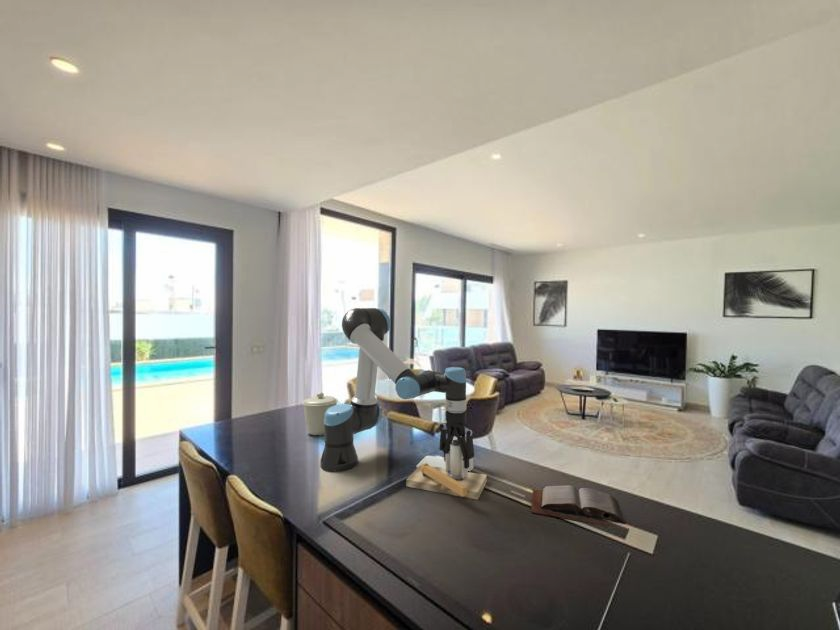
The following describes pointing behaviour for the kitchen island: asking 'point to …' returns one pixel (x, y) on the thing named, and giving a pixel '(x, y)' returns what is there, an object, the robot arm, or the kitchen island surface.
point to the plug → (455, 461)
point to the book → (576, 504)
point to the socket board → (425, 482)
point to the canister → (317, 412)
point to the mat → (433, 461)
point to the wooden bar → (444, 479)
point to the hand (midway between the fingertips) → (456, 473)
